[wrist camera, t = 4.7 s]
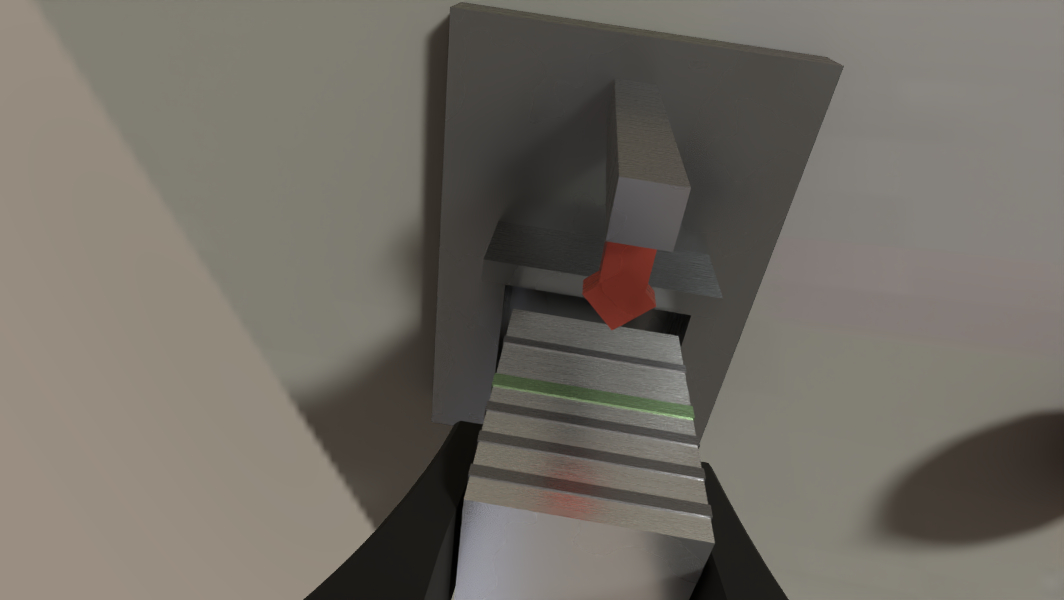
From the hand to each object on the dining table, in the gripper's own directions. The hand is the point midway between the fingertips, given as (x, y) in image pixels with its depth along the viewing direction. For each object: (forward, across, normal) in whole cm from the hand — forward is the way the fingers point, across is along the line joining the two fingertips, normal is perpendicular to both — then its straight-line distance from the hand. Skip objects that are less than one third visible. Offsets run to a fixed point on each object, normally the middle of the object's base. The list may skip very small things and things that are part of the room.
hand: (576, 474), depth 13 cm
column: (+3, 0, 0) cm, 3 cm away
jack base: (+7, 0, -2) cm, 7 cm away
